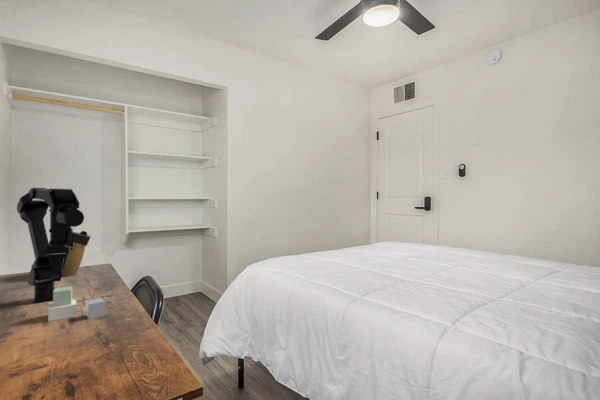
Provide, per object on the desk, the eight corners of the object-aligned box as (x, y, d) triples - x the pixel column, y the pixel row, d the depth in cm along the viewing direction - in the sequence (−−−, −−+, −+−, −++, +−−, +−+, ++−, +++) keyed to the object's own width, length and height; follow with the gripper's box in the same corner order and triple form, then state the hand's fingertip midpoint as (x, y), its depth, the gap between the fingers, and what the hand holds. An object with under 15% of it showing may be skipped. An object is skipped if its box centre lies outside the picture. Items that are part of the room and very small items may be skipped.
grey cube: (85, 315, 102) (85, 301, 102) (101, 312, 105) (101, 298, 105) (88, 319, 99) (88, 304, 99) (105, 315, 102) (105, 301, 102)
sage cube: (55, 302, 102) (54, 288, 102) (72, 300, 105) (72, 286, 105) (53, 306, 99) (53, 292, 99) (71, 304, 101) (71, 289, 101)
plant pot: (45, 280, 145) (45, 244, 145) (49, 273, 158) (50, 241, 158) (85, 276, 153) (85, 242, 153) (86, 270, 165) (86, 239, 165)
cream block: (48, 315, 102) (48, 303, 102) (75, 311, 106) (75, 298, 106) (48, 322, 97) (48, 309, 97) (76, 317, 101) (76, 304, 101)
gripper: (87, 226, 106) (87, 273, 106) (90, 222, 122) (90, 264, 122) (44, 227, 101) (44, 277, 101) (53, 223, 117) (53, 267, 117)
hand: (60, 271), depth 110 cm, fingers open, 9 cm apart
